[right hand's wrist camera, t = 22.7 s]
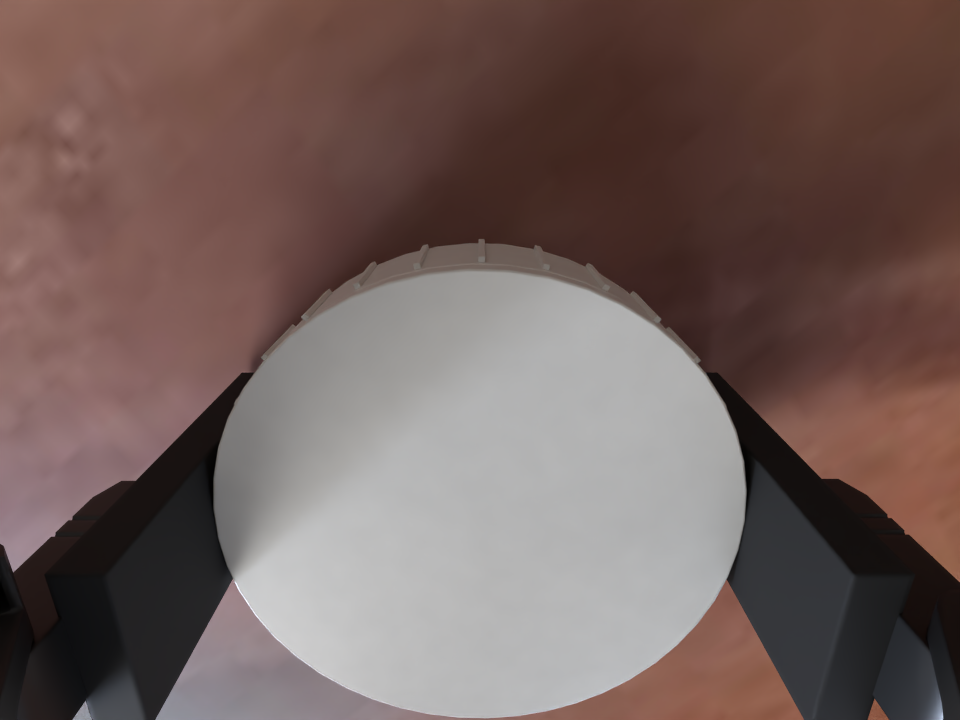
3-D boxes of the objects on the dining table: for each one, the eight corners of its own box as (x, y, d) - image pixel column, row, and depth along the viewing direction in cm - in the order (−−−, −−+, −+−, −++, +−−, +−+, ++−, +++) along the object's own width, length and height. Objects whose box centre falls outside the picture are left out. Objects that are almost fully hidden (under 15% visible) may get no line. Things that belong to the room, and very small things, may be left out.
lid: (277, 184, 10) (227, 198, 8) (778, 299, 11) (847, 338, 9) (236, 596, 14) (193, 678, 12) (625, 663, 14) (649, 753, 12)
